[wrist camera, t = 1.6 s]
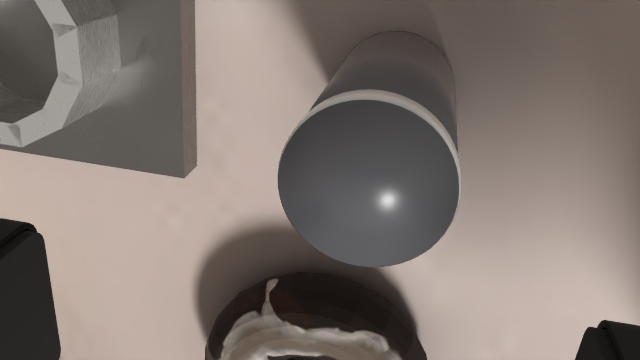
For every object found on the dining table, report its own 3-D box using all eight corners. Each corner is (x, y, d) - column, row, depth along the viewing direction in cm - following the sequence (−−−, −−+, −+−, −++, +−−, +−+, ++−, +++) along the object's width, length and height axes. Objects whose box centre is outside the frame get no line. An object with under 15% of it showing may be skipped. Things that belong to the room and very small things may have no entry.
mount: (192, -110, 23) (139, -114, 19) (196, 165, 28) (155, 207, 24) (-115, -136, 25) (-221, -145, 21) (-59, 125, 30) (-136, 158, 26)
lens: (466, 37, 24) (478, 114, 15) (445, 153, 26) (443, 282, 17) (342, 23, 24) (280, 87, 15) (331, 137, 26) (272, 252, 18)
